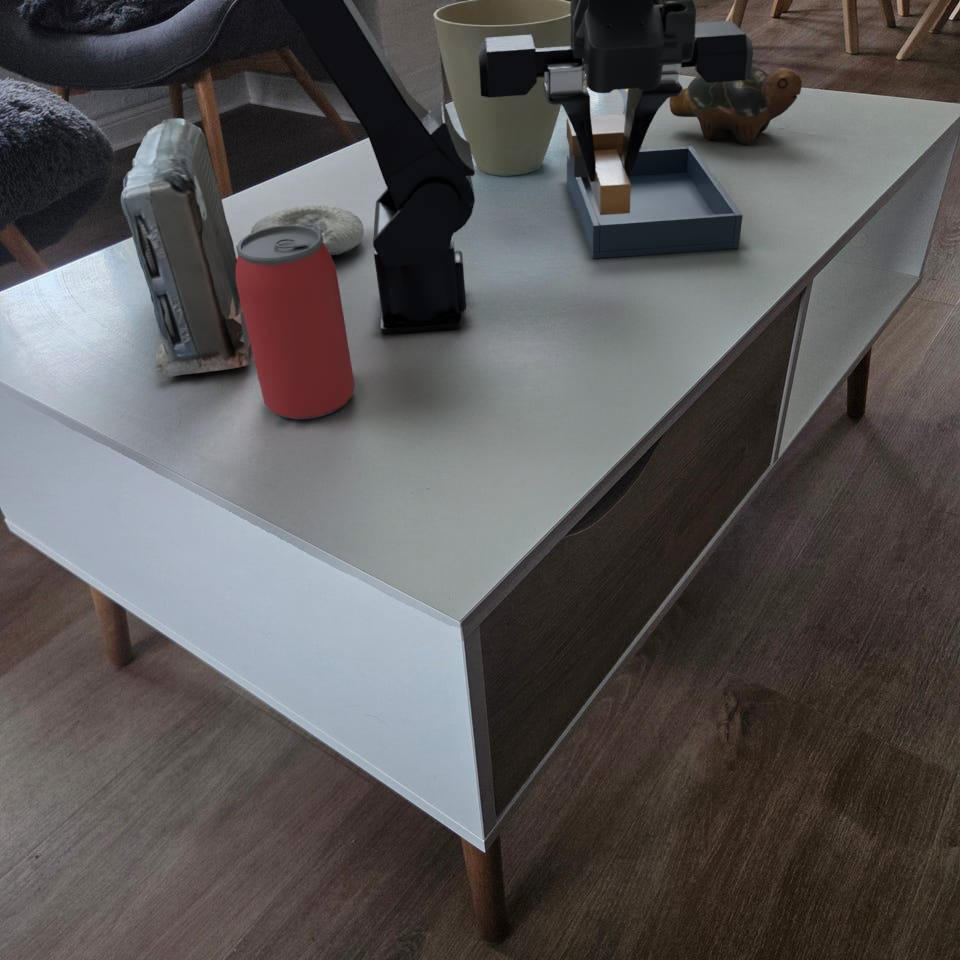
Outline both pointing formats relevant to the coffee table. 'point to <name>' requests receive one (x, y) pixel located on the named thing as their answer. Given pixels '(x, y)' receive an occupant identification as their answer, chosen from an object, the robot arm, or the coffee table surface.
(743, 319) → the coffee table surface
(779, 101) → the decorative turtle
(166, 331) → the radio
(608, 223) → the tray
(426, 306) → the robot arm
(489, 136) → the plant pot
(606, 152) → the brush
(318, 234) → the beer can
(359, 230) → the fossil
